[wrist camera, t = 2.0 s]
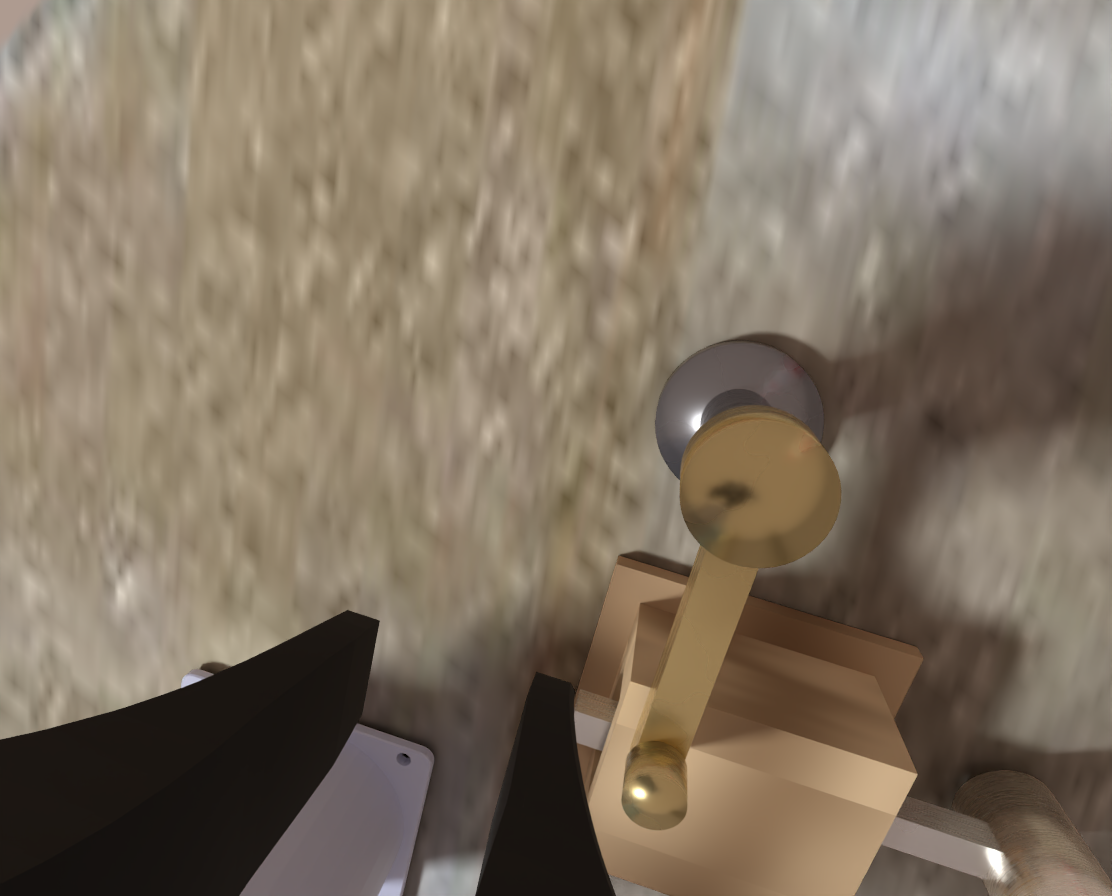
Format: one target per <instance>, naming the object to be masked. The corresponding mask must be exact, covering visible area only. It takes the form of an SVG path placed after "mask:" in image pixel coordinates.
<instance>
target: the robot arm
mask: <svg viewBox="0 0 1112 896" xmlns="http://www.w3.org/2000/svg"><path fill="white" fill-rule="evenodd" d="M379 622H380V621H379V620H376V619H373V618H370V617H367V616H364V615H361V614H358V613H355V612H352V611H349V610H347V611H345V612H343V613H341V614H339V615H337V616H335V617H333V618H331V619H329V620H327V621H325V622H323V623H321V624H319V625H317V626H315V627H313V628H311V629H309V630H307V631H305V632H303V633H301V634H299V635H297V636H295V637H293V638H291V639H289V640H287V641H285V642H283V643H281V644H279V645H277V646H275V647H273V648H271V649H269V650H267V651H265V652H263V653H261V654H259V655H257V656H255V657H253V658H250V659H248V660H246V661H244V662H242V663H239V664H237V665H235V666H232V667H230V668H228V669H226V670H223V671H221V672H219V673H216V674H212V673H209V672H206V671H203V670H200V669H194V670H191V671H190V672H189V673H188V674H187V675H185V676H184V677H183V679H182V684H181V688H180V689H177V690H175V691H172V692H169V693H166V694H164V695H161V696H158V697H155V698H152V699H149V700H146V701H143V702H140V703H137V704H134V705H131V706H128V707H125V708H122V709H119V710H115V711H112V712H109V713H105V714H101V715H97V716H94V717H90V718H86V719H83V720H79V721H75V722H72V723H68V724H64V725H61V726H57V727H53V728H50V729H46V730H42V731H38V732H33V733H29V734H24V735H20V736H15V737H11V738H6V739H2V740H0V896H403V892H404V888H405V883H406V879H407V875H408V871H409V867H410V862H411V858H412V854H413V850H414V845H415V841H416V837H417V833H418V828H419V824H420V820H421V816H422V812H423V807H424V803H425V799H426V795H427V790H428V786H429V782H430V778H431V773H432V769H433V765H434V756H433V753H432V752H431V751H430V750H429V749H428V748H426V747H424V746H422V745H419V744H416V743H413V742H410V741H407V740H404V739H401V738H399V737H396V736H393V735H390V734H387V733H384V732H381V731H378V730H375V729H372V728H369V727H366V726H364V725H361V724H358V723H357V722H358V721H359V719H360V717H361V715H362V712H363V706H364V701H365V696H366V691H367V685H368V680H369V675H370V669H371V664H372V659H373V653H374V648H375V643H376V638H377V632H378V627H379ZM574 695H575V690H574V688H573V686H572V685H571V683H569V682H566V681H563V680H560V679H557V678H554V677H551V676H547V675H544V674H541V673H538V672H536V675H535V677H534V680H533V682H532V685H531V687H530V690H529V693H528V695H527V699H526V702H525V706H524V710H523V713H522V717H521V720H520V724H519V727H518V731H517V735H516V738H515V742H514V745H513V749H512V752H511V756H510V760H509V763H508V767H507V770H506V774H505V777H504V781H503V785H502V788H501V792H500V795H499V799H498V802H497V806H496V810H495V813H494V817H493V820H492V824H491V829H490V833H489V838H488V842H487V846H486V851H485V855H484V860H483V864H482V869H481V873H480V877H479V882H478V886H477V891H476V895H475V896H616V895H615V892H614V889H613V887H612V884H611V881H610V878H609V875H608V872H607V869H606V866H605V863H604V860H603V857H602V854H601V851H600V847H599V844H598V840H597V837H596V833H595V830H594V826H593V822H592V818H591V814H590V810H589V806H588V802H587V797H586V793H585V788H584V783H583V778H582V772H581V767H580V761H579V755H578V748H577V741H576V731H575V720H574ZM402 753H404V754H406V755H408V756H409V757H410V758H406V757H405V756H403V755H402Z"/></svg>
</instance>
